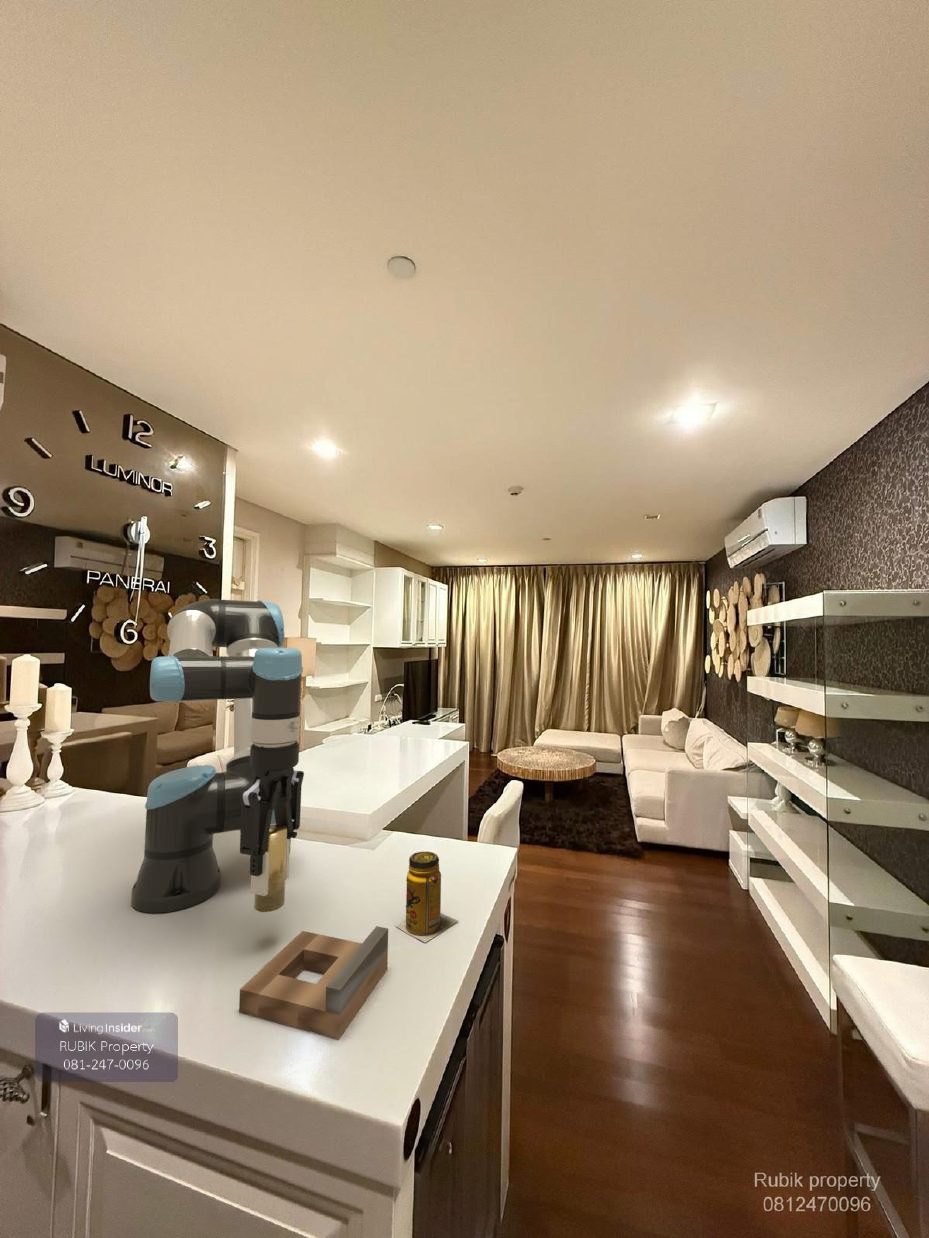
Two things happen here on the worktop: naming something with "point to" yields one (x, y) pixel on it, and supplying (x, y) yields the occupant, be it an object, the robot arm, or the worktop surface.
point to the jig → (332, 996)
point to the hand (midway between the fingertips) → (270, 884)
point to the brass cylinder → (274, 871)
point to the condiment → (424, 898)
